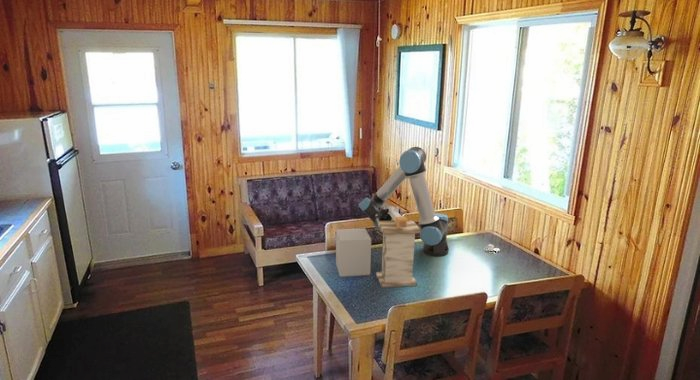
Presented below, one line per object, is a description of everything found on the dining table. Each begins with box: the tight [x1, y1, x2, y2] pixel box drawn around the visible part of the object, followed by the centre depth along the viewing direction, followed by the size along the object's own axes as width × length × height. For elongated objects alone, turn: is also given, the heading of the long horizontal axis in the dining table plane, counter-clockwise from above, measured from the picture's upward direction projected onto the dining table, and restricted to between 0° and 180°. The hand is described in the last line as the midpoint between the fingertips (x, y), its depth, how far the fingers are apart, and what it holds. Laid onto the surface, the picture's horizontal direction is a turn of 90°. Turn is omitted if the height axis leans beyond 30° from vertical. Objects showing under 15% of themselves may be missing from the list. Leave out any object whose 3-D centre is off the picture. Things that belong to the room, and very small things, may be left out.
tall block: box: [335, 227, 372, 277], centre depth 240 cm, size 16×16×20 cm
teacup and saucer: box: [485, 243, 501, 253], centre depth 269 cm, size 9×8×4 cm
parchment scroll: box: [375, 219, 421, 288], centre depth 227 cm, size 14×18×30 cm
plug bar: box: [387, 205, 408, 228], centre depth 227 cm, size 24×4×4 cm, turn 9°
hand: (394, 208), depth 229 cm, fingers closed on plug bar, 3 cm apart
